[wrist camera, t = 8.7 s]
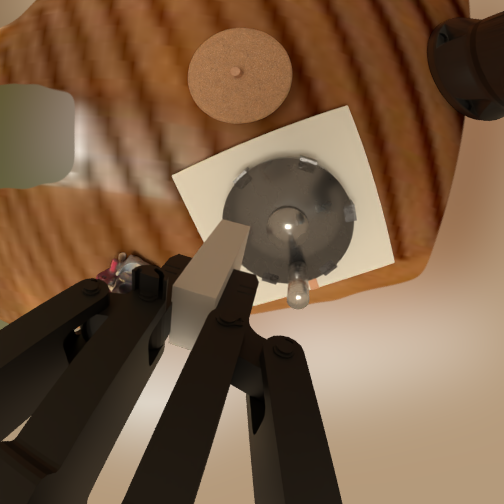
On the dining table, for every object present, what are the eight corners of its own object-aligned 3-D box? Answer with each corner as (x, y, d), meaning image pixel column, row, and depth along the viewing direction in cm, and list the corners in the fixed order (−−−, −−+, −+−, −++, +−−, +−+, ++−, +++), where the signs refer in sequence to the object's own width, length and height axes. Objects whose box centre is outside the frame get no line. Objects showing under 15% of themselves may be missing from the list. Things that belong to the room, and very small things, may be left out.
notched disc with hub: (209, 174, 37) (183, 192, 28) (340, 144, 33) (355, 152, 25) (243, 283, 43) (230, 324, 34) (359, 262, 39) (374, 301, 31)
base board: (345, 105, 32) (348, 105, 31) (391, 257, 40) (394, 263, 38) (175, 173, 39) (171, 176, 38) (240, 304, 47) (238, 310, 45)
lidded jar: (229, 33, 30) (209, 10, 22) (307, 64, 31) (311, 47, 22) (194, 104, 35) (165, 101, 26) (269, 137, 36) (261, 142, 27)
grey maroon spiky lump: (178, 272, 43) (138, 343, 37) (174, 289, 53) (142, 347, 47) (115, 234, 42) (72, 301, 36) (122, 258, 51) (88, 313, 46)
